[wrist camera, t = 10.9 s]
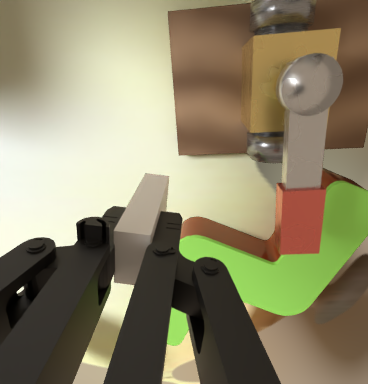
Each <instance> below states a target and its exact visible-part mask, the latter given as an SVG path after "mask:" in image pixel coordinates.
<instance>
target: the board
mask: <svg viewBox="0 0 368 384" xmlns="http://www.w3.org/2000/svg"><path fill="white" fill-rule="evenodd" d="M250 4H251V3H247V4H237V5H227V6H217V7H207V8H198V9H188V10H178V11H168V21H169V34H170V47H171V60H172V73H173V86H174V99H175V112H176V125H177V139H178V152H179V155H200V154H224V153H247V132H249V130H248V129H247V128H246V127H245V125H244V124H243V123H242V122H241V89H242V47H243V46H244V45H245V44H246V43H247V42H248V41H249V40H250V39H251V38H252V37H253V36H254V33H251V32H250ZM335 28H341V32H340V39H339V46H338V53H337V60H336V61H337V62H338V63H339V65H340V67H341V69H342V73H343V85H342V89H341V92H340V94H339V96H338V98H337V99H336V101H335V102H334V103H333V104H332V105H331V106H330V109H329V116H328V123H327V129H326V138H325V148H324V149H340V148H363V147H364V142H365V138H366V133H367V128H368V0H316V8H315V17H314V24H313V25H311V26H309V27H308V31H313V30H324V29H335Z"/></svg>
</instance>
